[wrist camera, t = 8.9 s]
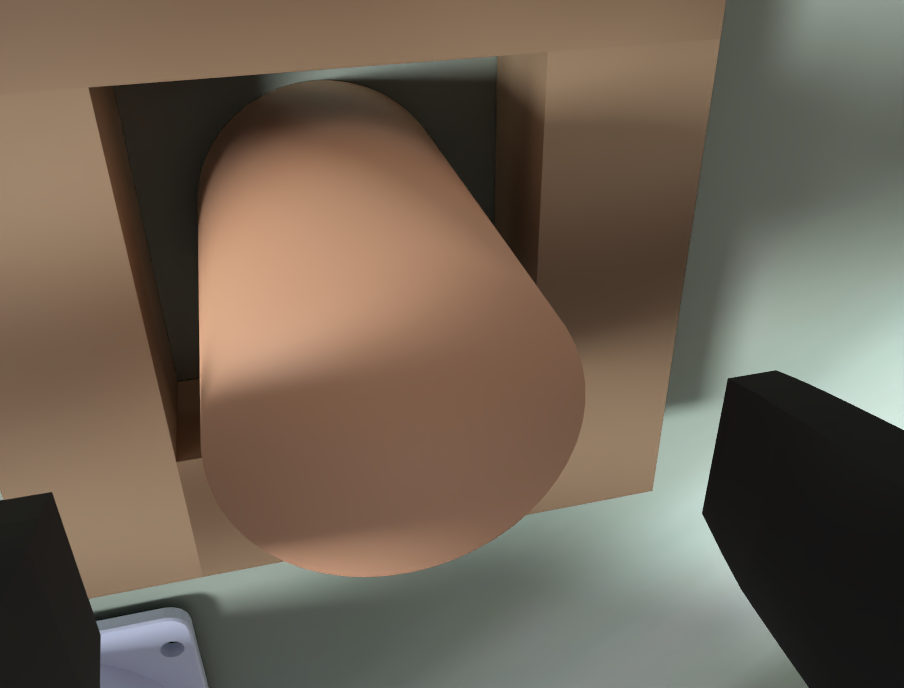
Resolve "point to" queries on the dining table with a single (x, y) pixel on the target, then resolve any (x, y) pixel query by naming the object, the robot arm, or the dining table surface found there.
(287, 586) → the dining table surface
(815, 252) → the dining table surface
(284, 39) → the keyhole board
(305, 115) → the terracotta peg
